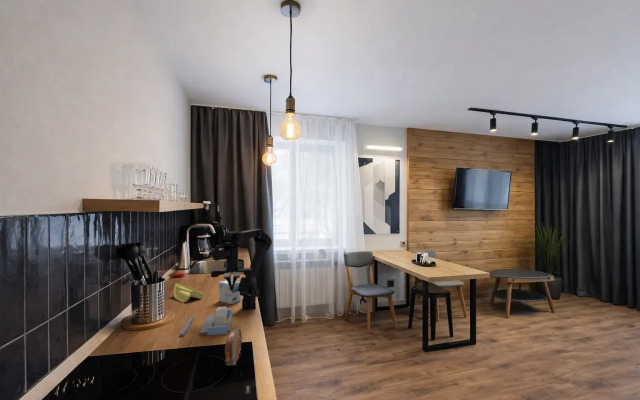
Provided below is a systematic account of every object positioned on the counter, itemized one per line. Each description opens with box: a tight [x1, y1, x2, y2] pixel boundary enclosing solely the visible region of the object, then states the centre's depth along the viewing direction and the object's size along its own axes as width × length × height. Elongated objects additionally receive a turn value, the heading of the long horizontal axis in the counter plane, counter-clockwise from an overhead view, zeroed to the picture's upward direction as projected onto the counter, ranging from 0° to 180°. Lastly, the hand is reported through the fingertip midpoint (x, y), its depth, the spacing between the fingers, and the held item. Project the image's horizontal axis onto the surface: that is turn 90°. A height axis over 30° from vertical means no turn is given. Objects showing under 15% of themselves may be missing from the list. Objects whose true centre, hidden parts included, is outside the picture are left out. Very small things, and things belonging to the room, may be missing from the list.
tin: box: [224, 328, 242, 366], centre depth 100 cm, size 15×3×8 cm, turn 4°
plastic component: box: [173, 283, 205, 304], centre depth 170 cm, size 20×7×10 cm
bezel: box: [207, 308, 233, 336], centre depth 130 cm, size 8×22×3 cm, turn 12°
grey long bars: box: [179, 313, 234, 338], centre depth 129 cm, size 19×20×1 cm
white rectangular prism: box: [213, 306, 228, 326], centre depth 129 cm, size 4×12×6 cm, turn 13°
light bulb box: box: [218, 279, 242, 305], centre depth 163 cm, size 11×7×11 cm, turn 58°
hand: (232, 290), depth 141 cm, fingers closed
